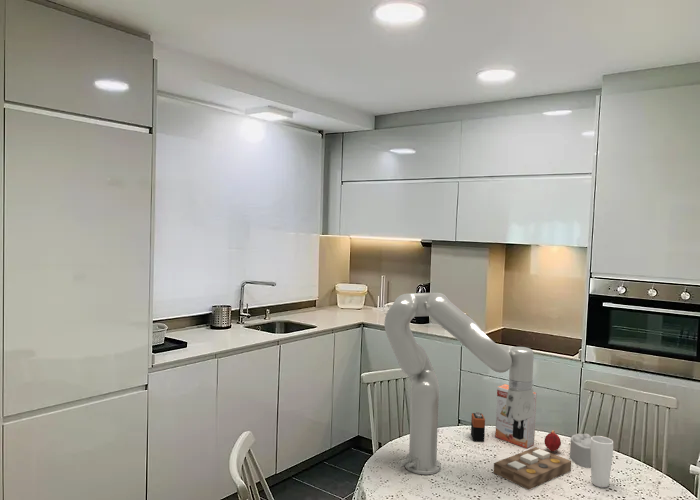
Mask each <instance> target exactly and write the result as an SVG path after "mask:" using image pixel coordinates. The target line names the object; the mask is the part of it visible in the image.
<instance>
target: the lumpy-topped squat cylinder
mask: <svg viewBox="0 0 700 500" xmlns="http://www.w3.org/2000/svg"><path fill="white" fill-rule="evenodd" d="M591 437H592V436H591V435H590V434H589V433H576V434H572V436H571V437H570V446H569V447H570V448H569V449H570V450H569V459H570V461H571V462H573V463H575V464H576V465H577V466H578V467H581V468H586V469H591V454H590V446H591Z"/></svg>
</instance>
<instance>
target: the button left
mask: <svg viewBox="0 0 700 500" xmlns="http://www.w3.org/2000/svg"><path fill="white" fill-rule="evenodd" d="M508 466H510V467H513V468H515V469H517V470H520V469H522V468H525V467H526V465H524V464H522V463H519V462H517V461H514V462H511V463H508Z"/></svg>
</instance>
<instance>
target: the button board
mask: <svg viewBox="0 0 700 500" xmlns="http://www.w3.org/2000/svg"><path fill="white" fill-rule="evenodd" d="M538 449H541V450H544V449H542V448H539V447H537V446H536V447H535V446H534V447H532V448H530V449H528V450H525V451H522V452H519V453H517V454H514V455H511V456H509V457H506V458H504V459H500V460H498V461H495V462H493V474H495V475H497V476H499V477H501V478H503V479H505V480H507V481H510V482H512V483H514V484H515V485H518V486H520V487H522V488H525V489H526V490H529V491H530V490H532V489H534V488H536V487H539V486H541V485H543V484H546V483H547V482H549V481H552V480H553V479H556V478H558V477H561V476H562V475H564V474H568V473H570V472H571V471H572V460H571V459H567V458H565V457H563V456H559V455H557V454H554V453H553V452H551V451H547V450H544V451H546V452H549V453H550V457H549V458H547V459H544V460H542V459H540V458H538V462H537V463H534V464H532V465H530V464H528V463H526V462H523V461H521V460H520V456H522V455H525V454H530V455H532V453H533V451H535V450H538ZM514 461H517V462H519V463H522V464H524V465H526V467H525V468H522V469H520V470H517V469H515V468H513V467H510V466H508V463H511V462H514Z"/></svg>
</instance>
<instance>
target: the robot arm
mask: <svg viewBox="0 0 700 500" xmlns="http://www.w3.org/2000/svg"><path fill="white" fill-rule="evenodd" d="M415 317H416V318H417V317H429V318H431V319H432V320H433V321H435V323H437V324H438V325H439V326H441V328H443V329H444V330H445V331H447V332H448V333H449V335H451V336H453V338H455V339H456V340H457V341H458V342H459V343H461V345H462V346H463V347H465V348H466V349H467V350H469V351H470V352H471V354H473V355H474V356H475V357H476V358H477V359H479V360H480V361H481V362H482V363H483V364H484V365H486V366H487V367H488V368H489V369H491V370H492V371H493V372H496V373H498V374H499V373H500V374H501V373H506V372H508V385H509V389H508V394H507V400H506V417H507V418H508V421H507V422H508V423H510V424H512V426H513V437H514V438H517V439H519V440H521V439H523V438H524V427H525V423H526V420H527V419H529V418H531V417H533V415H534V388H533V377H534V374H533V373H534V351H533V349H531V348H530V347H525V346H509V345H504V344H499V343H496V342H495V341H494V340H492V338H490V337H489V336H488V335H487V334H486V333H485V332H484V331H483V330H482V329H481V327H480V326H479V324H478V323H476V321H475V320H474V319H472V318H471V317H470V316H469V315H467V314H466V313H465V312H464V311H463V310H462V309H460V308H459V307H458V306H457V305H455V304H454V303H453V302H452V301H450V299H449V298H448V297H447V295H445V294H444V293H442V292H422V293H421V292H420V293H419V292H418V293H403V294H400V295H398V296H397V297H396V298H395V300H394V302H393V303H392V305H391V306H390V307H389V308H388V310H387V312H386V314H385V318H384V321H383V322H384V323H383V324H384V331H385V334H386V336H387V338H388V341H389V343H390V345H391V348H392V351H393V353H394V357H396V360H397V363H398V364H399V368H400V369H401V370H402V372H403V373H404V374H406V376H407V377H408V378H409V381H410V384H411V387H410V394H409V395H410V401H409V402H410V409H409V442H408V443H409V448H408V449H409V451H408V453H407V454H406V457H405V459H401V460H399V461H398V466H399V467H400V468H401V467H405V468H406V470H408V471H409V472H411V473H414V474H417V475H418V474H419V475H432V474H433V475H434V474H437V473H438V472H440V471H441V469H442V465H441V463H440V461H439V460H438V457H437V456H438V455H437V453H438V452H437V451H438V431H439V429H438V427H439V426H438V424H439V422H438V421H439V404H440V403H439V401H440V386H439V379H438V377H437V373H436V372H435V370H434V367H433V365H432V363H431V361H430V359H429V357H428V354H427V352H426V350H425V348H423V346H422V345H420V344H419V343H418V342H417V341H416V339H415V336H414V334H413V332H412V331H413V330H411V326H410V323H411V321H412V320H413V319H414V318H415Z"/></svg>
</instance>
